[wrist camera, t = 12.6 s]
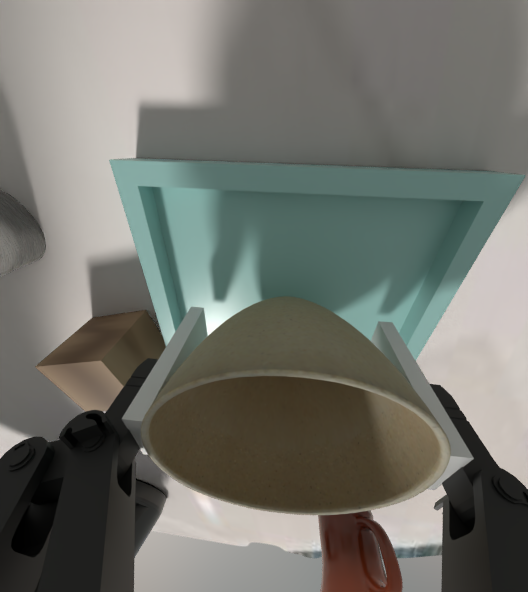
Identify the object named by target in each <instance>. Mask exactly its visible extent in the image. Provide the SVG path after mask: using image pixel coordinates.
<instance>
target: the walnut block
mask: <svg viewBox="0 0 528 592" xmlns="http://www.w3.org/2000/svg"><path fill="white" fill-rule="evenodd" d="M165 348H166V345H165V342H164V339H163V336H162V335H161V333H160V332H159V330H158V328H157V327H156V325H155V324H154V322H153V320H152V319H151V317H150V316H149V314H148V312H147V311H146V310H143V311H136V312H129V313H122V314H115V315H108V316H101V317H94V318H92V319H90V320H89V321H88V322H87V323H86V324H84V325H83V326H82V327H81V328H80V329H79V330H77V331H76V332H75V333H74V334H73V335H72V336H70V337H69V338H68V339H67V340H66V341H65V342H63V343H62V344H61V345H60V346H59V347H58V348H56V349H55V350H54V351H53V352H52V353H51V354H49V355H48V356H47V357H46V358H45V359H44V360H42V361H41V362H40V363H39V364H38V365H37V366H35V367H36V368H37V369H38V370H39V371H40V372H41V373H42V374H44V375H45V376H46V377H47V378H48V379H49V380H50V381H51V382H53V383H54V384H55V385H56V386H57V387H58V388H59V389H61V390H62V391H63V392H64V393H65V394H66V395H67V396H68V397H70V398H71V399H72V400H73V401H74V402H75V403H76V404H78V405H79V406H80V407H81V408H82V409H83V410H84V411H85V412H86V411H90V410H100V411H107V410H108V409H109V407H110V406H111V404H112V403H113V401H114V400H115V398H116V397H117V396H118V394H119V393H120V391H121V390H122V388H123V387H124V386H125V384H126V383H127V381H128V380H129V378H131V375H132V374H133V373H134V371H135V370H136V368H137V367H138V366H139V365H140V364H141V363H143V362H144V361H145V360H146V359H147V358H151V359H159V358H160V356H161V354H162V353H163V351H164V350H165Z"/></svg>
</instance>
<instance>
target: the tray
mask: <svg viewBox="0 0 528 592" xmlns="http://www.w3.org/2000/svg"><path fill="white" fill-rule="evenodd" d="M109 161H110V164H111V167H112V171H113V174H114V177H115V181H116V184H117V187H118V190H119V194H120V197H121V200H122V204H123V207H124V210H125V213H126V217H127V220H128V223H129V227H130V230H131V233H132V236H133V240H134V243H135V246H136V250H137V253H138V256H139V260H140V263H141V266H142V269H143V273H144V276H145V279H146V283H147V286H148V289H149V292H150V296H151V299H152V302H153V306H154V309H155V312H156V315H157V319H158V322H159V325H160V329H161V332H162V335H163V339H164V342H165V345H166V346H167V345H168V343H169V341H170V340H171V338H172V337H173V335H174V333H175V332H176V330H177V329H178V327H179V325H180V324H181V322H182V321H183V319H184V317H185V316H186V314H187V312H188V311H189V309H190V308H191V307H201V308H204V313H205V320H206V326H207V333H208V335H209V334H211V333H212V332H213V331H214V330H215V329H216V328H217V327H219V326H220V325H221V324H222V323H224V322H225V321H226V320H228V319H229V318H230V317H232V316H233V315H235V314H236V313H238V312H240V311H241V310H243V309H245V308H247V307H249V306H251V305H253V304H255V303H258V302H260V301H263V300H266V299H270V298H274V297H282V296H290V297H297V298H301V299H305V300H308V301H311V302H313V303H316V304H318V305H320V306H322V307H325V308H326V309H328V310H330V311H332V312H333V313H335V314H336V315H338V316H339V317H341V318H342V319H344V320H345V321H347V322H348V323H349V324H351V325H352V326H353V327H355V328H356V329H357V330H358V331H360V332H361V333H362V334H363V335H364V336H365V337H367V338H368V339H369V340H370V341H371V339H372V336H373V334H374V331H375V329H376V326H377V324H378V321H381V322H393V324H394V326H395V327H396V329H397V331H398V332H399V334H400V336H401V337H402V339H403V341H404V342H405V344H406V346H407V348H408V349H409V351H410V353H411V354H412V356H413V358H414V359H415V361H416V359H417V358H418V356H419V354H420V352H421V351H422V349H423V347H424V346H425V344H426V342H427V341H428V339H429V337H430V336H431V334H432V332H433V331H434V329H435V327H436V326H437V324H438V322H439V321H440V319H441V317H442V315H443V314H444V312H445V310H446V309H447V307H448V305H449V304H450V302H451V300H452V299H453V297H454V295H455V294H456V292H457V290H458V289H459V287H460V285H461V284H462V282H463V280H464V278H465V277H466V275H467V273H468V272H469V270H470V268H471V267H472V265H473V263H474V262H475V260H476V258H477V257H478V255H479V253H480V252H481V250H482V248H483V247H484V245H485V243H486V242H487V240H488V238H489V236H490V235H491V233H492V231H493V230H494V228H495V226H496V225H497V223H498V221H499V220H500V218H501V216H502V215H503V213H504V211H505V210H506V208H507V206H508V205H509V203H510V201H511V199H512V198H513V196H514V194H515V193H516V191H517V189H518V188H519V186H520V184H521V183H522V181H523V179H524V178H525V176H526V175H521V174H512V173H503V172H494V171H478V170H450V169H422V168H395V167H367V166H339V165H312V164H284V163H256V162H229V161H201V160H173V159H146V158H129V159H113V160H109Z"/></svg>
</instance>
